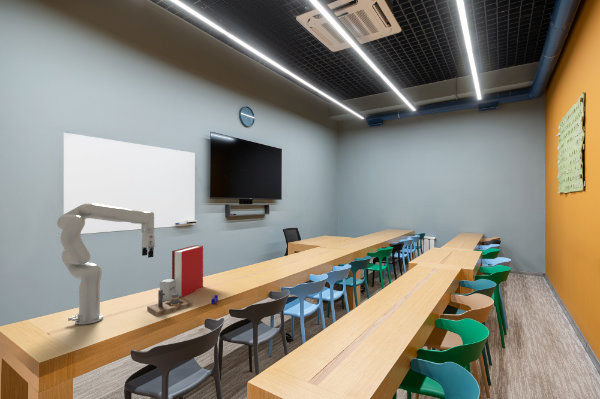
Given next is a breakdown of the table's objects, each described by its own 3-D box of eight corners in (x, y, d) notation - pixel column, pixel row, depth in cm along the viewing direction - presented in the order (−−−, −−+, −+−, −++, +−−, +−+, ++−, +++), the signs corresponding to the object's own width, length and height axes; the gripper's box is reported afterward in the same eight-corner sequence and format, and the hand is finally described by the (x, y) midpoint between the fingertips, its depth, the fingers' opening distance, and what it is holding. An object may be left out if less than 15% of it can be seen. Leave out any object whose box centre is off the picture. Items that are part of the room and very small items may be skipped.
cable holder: (212, 300, 201) (212, 294, 201) (218, 300, 201) (218, 294, 201) (209, 304, 193) (209, 298, 193) (214, 304, 193) (214, 298, 193)
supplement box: (169, 301, 200) (169, 282, 200) (159, 300, 201) (159, 281, 201) (175, 297, 207) (175, 279, 207) (166, 296, 208) (166, 278, 208)
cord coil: (180, 306, 188) (180, 294, 188) (172, 309, 185) (172, 296, 185) (176, 305, 192) (176, 292, 192) (169, 307, 188) (169, 294, 188)
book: (181, 297, 206) (182, 251, 206) (171, 296, 208) (172, 250, 208) (204, 286, 233) (204, 245, 233) (194, 285, 235) (195, 245, 235)
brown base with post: (156, 316, 173) (157, 294, 173) (147, 310, 183) (147, 289, 183) (192, 306, 190) (192, 286, 190) (181, 301, 199) (181, 282, 199)
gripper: (159, 230, 194) (159, 257, 194) (148, 229, 206) (148, 254, 206) (147, 231, 189) (147, 258, 189) (136, 229, 200) (136, 255, 200)
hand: (147, 256), depth 197 cm, fingers open, 9 cm apart
